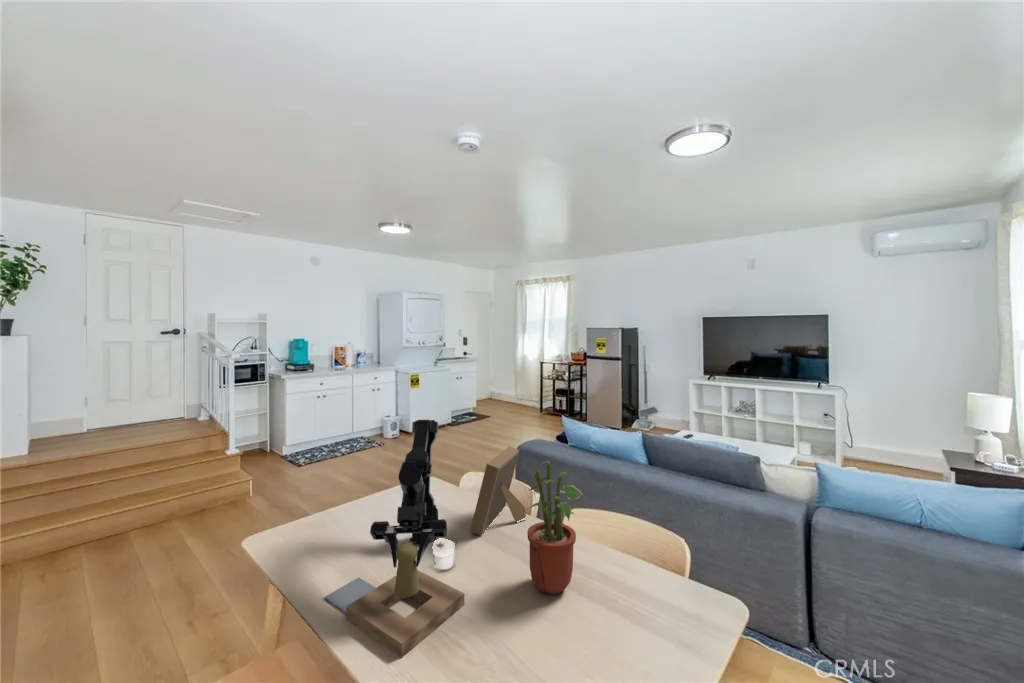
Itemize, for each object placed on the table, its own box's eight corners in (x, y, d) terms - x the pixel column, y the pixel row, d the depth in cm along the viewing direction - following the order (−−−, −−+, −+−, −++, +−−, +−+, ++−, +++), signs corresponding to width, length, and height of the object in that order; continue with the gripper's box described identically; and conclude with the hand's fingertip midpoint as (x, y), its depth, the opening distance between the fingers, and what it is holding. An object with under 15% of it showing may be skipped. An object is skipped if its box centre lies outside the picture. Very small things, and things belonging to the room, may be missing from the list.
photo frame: (469, 534, 137) (471, 461, 136) (494, 507, 157) (495, 444, 157) (510, 542, 132) (512, 467, 131) (530, 514, 153) (532, 449, 152)
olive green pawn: (412, 599, 96) (413, 554, 95) (389, 595, 97) (389, 550, 97) (423, 583, 102) (423, 540, 101) (401, 580, 103) (401, 538, 102)
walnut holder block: (410, 576, 113) (410, 566, 113) (464, 605, 102) (464, 593, 102) (346, 618, 97) (346, 606, 97) (401, 657, 85) (401, 643, 85)
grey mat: (358, 579, 112) (358, 577, 112) (381, 592, 106) (381, 590, 106) (324, 598, 104) (324, 596, 104) (347, 614, 98) (347, 612, 98)
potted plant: (564, 609, 100) (566, 471, 99) (510, 589, 108) (511, 460, 107) (587, 573, 116) (588, 452, 115) (538, 557, 123) (539, 444, 122)
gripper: (371, 490, 101) (359, 559, 91) (446, 488, 103) (443, 555, 93) (379, 507, 110) (368, 571, 99) (448, 505, 111) (445, 568, 101)
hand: (406, 566), depth 98 cm, fingers closed on olive green pawn, 5 cm apart
